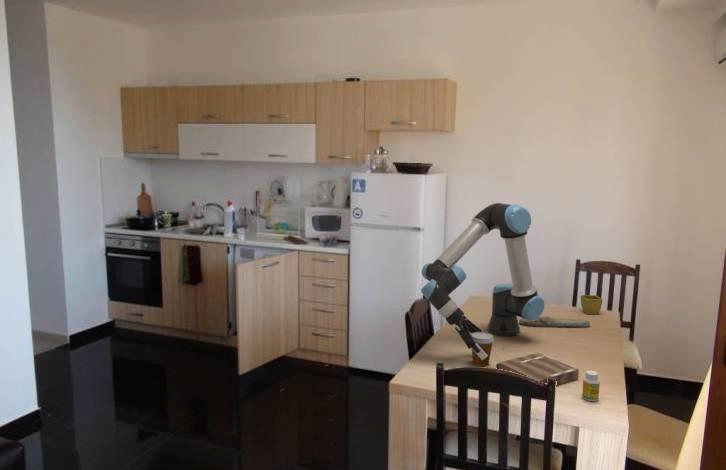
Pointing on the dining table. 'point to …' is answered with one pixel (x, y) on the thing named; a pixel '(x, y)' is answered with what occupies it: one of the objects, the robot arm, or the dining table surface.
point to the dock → (541, 368)
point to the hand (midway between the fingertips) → (487, 352)
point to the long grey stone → (555, 322)
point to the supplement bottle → (591, 386)
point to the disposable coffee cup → (482, 347)
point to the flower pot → (591, 304)
